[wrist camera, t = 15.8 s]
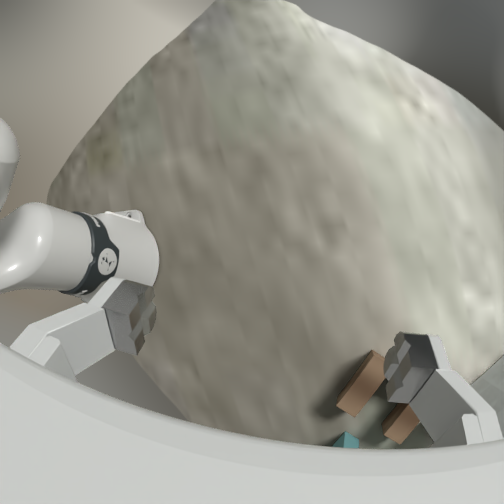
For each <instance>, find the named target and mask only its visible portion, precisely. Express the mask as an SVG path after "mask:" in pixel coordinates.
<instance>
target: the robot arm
mask: <svg viewBox="0 0 504 504" xmlns="http://www.w3.org/2000/svg"><path fill="white" fill-rule="evenodd" d="M19 159H20V152H19V147H18V144H17V140H16V138H15V136H14V134H13V132H12V130H11V129H10V127H9V126H8V125H7V123H6V122H5V121H4V120H3V119H1V118H0V211H1V209H2V207H3V205H4V203H5V201H6V199H7V196H8V193H9V190H10V187H11V183H12V180H13V178H14V174H15V171H16V168H17V165H18V162H19ZM130 217H131V218H130ZM158 268H159V252H158V247H157V244H156V241H155V239H154V237H153V235H152V234H151V232H150V231H149V230H148V228H147V227H146V225H145V222H144V218H143V215H142V213H141V211H138V210H129V211H122V212H115V213H113V212H109V211H106V212H105V213H101V214H96V215H93V216H92V215H90V214H87V213H84V212H83V213H82V212H68V211H65V210H62V209H59V208H56V207H53V206H50V205H47V204H43V203H40V202H33V203H27V204H24V205H22V206H20V207H18V208H17V209H15V210H14V211H13V212H11V213H10V214H9V215H8V216H6V217H4V218H3V219H1V220H0V294H1V293H5V292H9V291H14V290H20V289H43V290H58V291H59V292H61V293H64V294H69V295H73V296H76V297H81V300H82V301H83V302H88V304H87V303H82V304H79V305H77V306H74V307H72V308H70V309H67V310H64V311H62V312H59V313H57V314H55V315H52V316H49V317H47V318H44V319H42V320H40V321H37V322H35V323H32V324H30V325H28V326H27V328H26V329H25V330H24V331H23V332H22V333H21V334H20V335H19V337H18V338H17V339H16V340H15V341H14V342H13V344H12V345H11V346H10V347H7V346H6V345H4V344H3V343H1V342H0V504H504V439H503V436H502V432H501V429H500V425H499V422H498V418H497V415H496V412H495V410H494V409H493V408H492V407H491V406H490V405H489V404H488V403H487V402H486V401H485V400H484V399H483V398H482V397H481V396H480V395H479V394H478V393H477V392H476V391H475V390H474V389H473V388H472V387H471V386H470V385H469V384H468V383H467V382H466V381H465V380H464V379H463V378H462V377H461V376H460V375H459V374H458V373H457V372H456V371H455V370H452V369H451V366H450V363H449V360H448V357H447V354H446V351H445V349H444V346H443V343H442V340H441V338H440V337H439V336H438V335H430V334H418V333H409V332H399V333H398V334H397V335H396V337H395V339H394V342H395V346H393V347H392V348H390V349H389V350H388V352H387V354H386V356H385V360H384V365H383V371H384V376H385V377H386V378H387V380H388V383H387V385H386V393H387V401H388V402H396V403H410V404H409V405H410V407H411V408H412V410H413V411H414V413H415V414H416V416H417V417H418V419H419V420H420V422H421V423H422V425H423V426H424V428H425V429H426V431H427V432H428V434H429V435H430V437H431V438H432V440H433V441H434V443H433V444H432V445H431V446H430V447H429V448H418V449H360V448H341V447H328V446H317V445H308V444H299V443H291V442H284V441H277V440H271V439H265V438H259V437H253V436H248V435H243V434H238V433H233V432H228V431H224V430H219V429H215V428H211V427H207V426H203V425H199V424H195V423H191V422H188V421H184V420H180V419H177V418H173V417H170V416H167V415H164V414H160V413H157V412H154V411H151V410H148V409H145V408H142V407H139V406H136V405H133V404H130V403H127V402H125V401H122V400H119V399H117V398H114V397H112V396H109V395H106V394H104V393H101V392H99V391H97V390H94V389H91V388H89V387H87V386H85V385H82V384H80V383H79V382H78V380H77V378H76V376H75V375H76V374H78V373H80V372H81V371H83V370H84V369H86V368H88V367H89V366H91V365H92V364H94V363H95V362H97V361H99V360H100V359H102V358H104V357H105V356H107V355H108V354H110V353H111V352H113V351H114V350H115V349H117V350H120V351H123V352H127V353H130V354H133V355H138V353H139V351H140V350H141V348H142V346H143V344H144V343H145V339H144V336H145V335H147V334H149V333H150V332H151V331H152V329H153V327H154V324H155V320H156V306H155V305H154V303H153V302H152V300H153V298H154V297H155V294H154V288H153V287H152V286H153V284H154V282H155V280H156V277H157V273H158Z"/></svg>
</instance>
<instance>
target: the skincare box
mask: <svg viewBox="0 0 504 504" xmlns="http://www.w3.org/2000/svg"><path fill="white" fill-rule="evenodd" d="M470 386H471V387H472V388H473V389H474V390H475V391H476V392H477V393H478V394H479V395H480V396H481V397H482V398H483V399H484V400H485V401H486V402H487V403H488V404H489V405H490V406H491V407H492V408H493V409H494V410H495V412H496V415H497V418H498V422H499V425H500V429H501V432H502V436H503V439H504V355H503V356H502V357H501V358H500V359H499V360H498V361H497V362H496V363H495V364H494V365H493V366H492V367H491V368H489V369H488V370H487V371H486V372H485V373H484V374H483V375H482V376H480V377H479V378H478V379H477V380H476V381H475V382H474V383H472V384H471V385H470Z"/></svg>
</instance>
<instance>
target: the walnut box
mask: <svg viewBox="0 0 504 504" xmlns="http://www.w3.org/2000/svg"><path fill="white" fill-rule="evenodd" d="M384 360H385V358H384V357H383V356H381V355H379V354H378V353H376V352H375V351H373V350H372V351H371V352H370V353H369V355H368V356H367V358H366V359H365V361H364V362H363V363H362V365H361V366H360V368H359V369H358V370H357V372H356V373H355V374H354V376H353V377H352V379H351V380H350V381H349V383H348V384H347V385H346V387H345V388H344V389H343V390H342V392H341V393H340V394H339V396H338V398H337V403H336V406H337V407H339V408H340V409H342V410H343V411H345V412H347V413H348V414H350V415H351V416H353V417H355V416H356V415H357V414H358V413H359V412H360V410H361V409H362V408H363V407H364V405H365V404H366V403H367V402H368V400H369V399H370V398H371V396H372V395H373V394H374V393H375V391H376V390H377V389H378V387H379V386H380V385H381V383H382V382H383V380H384V379H385V378H386V377H385V376H384V371H383V365H384ZM409 404H410V403H398V404H397V405H396V407H395V408H394V409H393V410H392V412H391V413H390V414H389V415H388V417H387V418H386V419H385V420H384V421H383V423H382V429H383V434H384V435H385V436H386V437H388V438H390V439H392V440H393V441H395V442H397V443H399V444H400V445H401V443H402V442H403V441H404V440H405V439H406V438H407V436H408V435H409V434H410V433H411V432H412V430H413V429H414V428H415V427H416V426H417V424H418V423H419V422H420V420H419V419H418V417H417V416H416V414H415V413H414V411H413V410H412V408H411V407H410V405H409Z"/></svg>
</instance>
